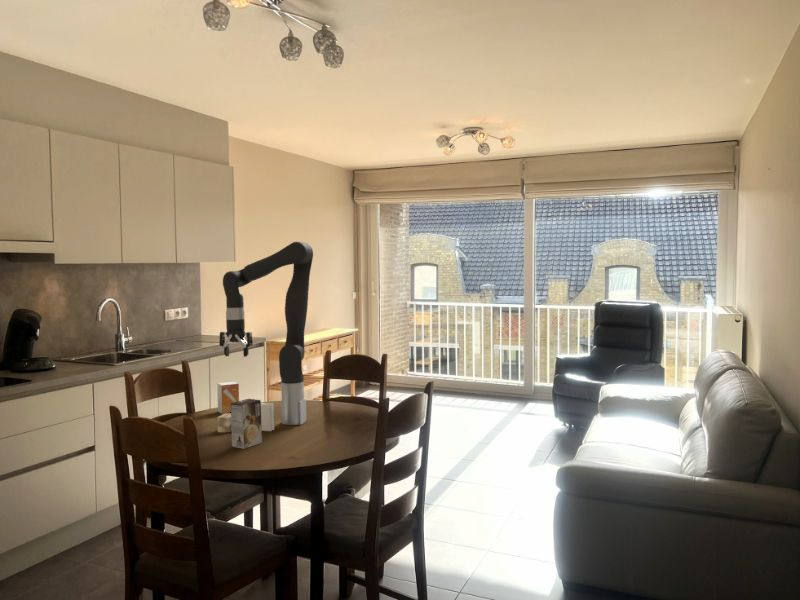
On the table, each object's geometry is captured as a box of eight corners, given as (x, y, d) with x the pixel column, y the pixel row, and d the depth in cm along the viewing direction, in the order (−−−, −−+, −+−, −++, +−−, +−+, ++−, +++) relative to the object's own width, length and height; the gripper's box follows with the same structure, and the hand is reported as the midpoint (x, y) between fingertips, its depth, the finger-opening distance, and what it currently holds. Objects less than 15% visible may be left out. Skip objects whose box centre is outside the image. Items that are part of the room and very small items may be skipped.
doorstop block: (236, 428, 249) (235, 413, 249) (228, 432, 242) (228, 417, 242) (225, 428, 250) (225, 413, 250) (217, 432, 243) (217, 417, 243)
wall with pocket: (274, 429, 246) (273, 403, 245) (271, 431, 243) (270, 404, 243) (253, 428, 248) (253, 402, 248) (250, 430, 245) (249, 403, 245)
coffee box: (250, 440, 230) (249, 398, 229) (262, 443, 226) (261, 399, 226) (231, 446, 222) (230, 402, 221) (244, 449, 218) (242, 404, 218)
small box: (221, 414, 274) (221, 385, 274) (217, 411, 280) (216, 383, 279) (239, 411, 279) (239, 383, 278) (235, 409, 284) (234, 381, 284)
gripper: (254, 317, 263) (255, 355, 264) (224, 317, 266) (225, 354, 267) (246, 319, 256) (247, 357, 256) (215, 318, 259) (216, 357, 260)
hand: (236, 356), depth 262 cm, fingers open, 8 cm apart
